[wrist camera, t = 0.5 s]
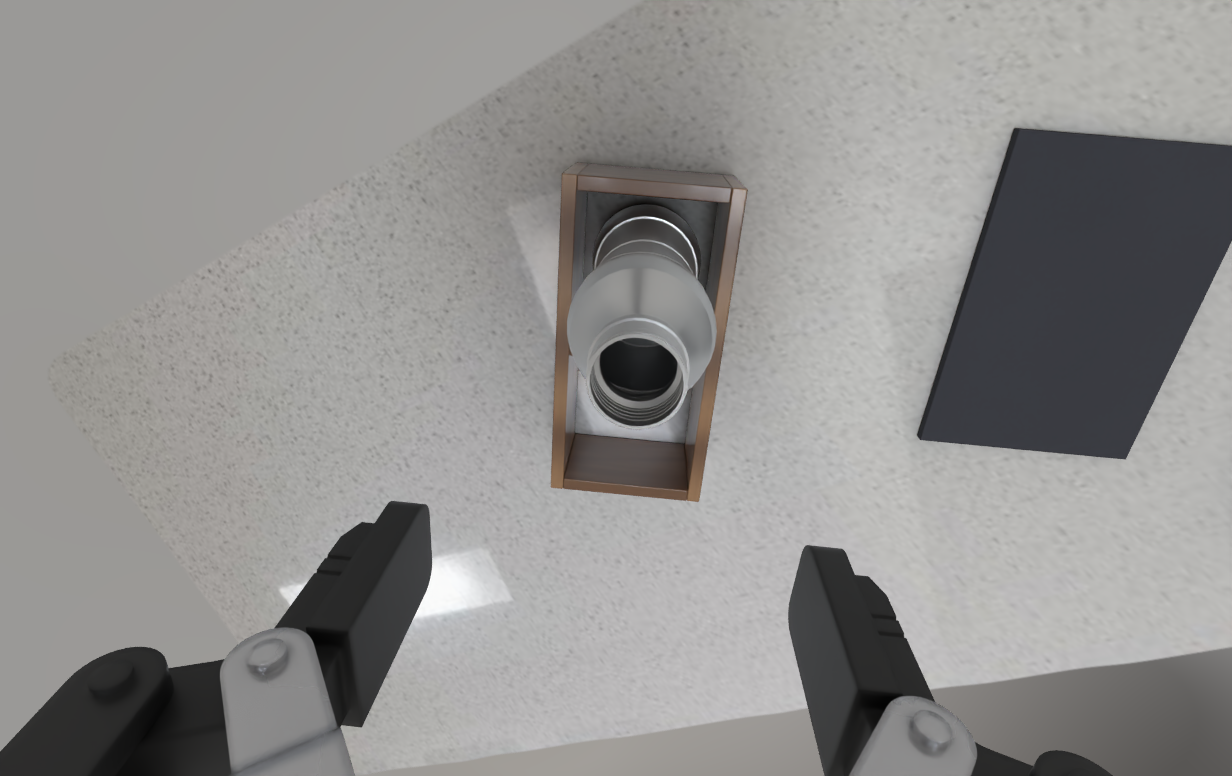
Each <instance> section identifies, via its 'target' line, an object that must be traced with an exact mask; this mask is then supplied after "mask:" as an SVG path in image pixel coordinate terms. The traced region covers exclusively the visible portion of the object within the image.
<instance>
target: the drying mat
mask: <svg viewBox="0 0 1232 776" xmlns="http://www.w3.org/2000/svg"><path fill="white" fill-rule="evenodd" d="M1231 241H1232V146H1227V145H1214V144H1202V143H1190V142H1178V141H1165V140H1153V139H1141V138H1129V137H1116V136H1104V135H1092V134H1080V133H1067V132H1055V131H1043V130H1030V129H1018V128H1015V129H1014V132H1013V135H1012V139H1011V142H1010V145H1009V148H1008V151H1007V154H1006V157H1005V161H1004V164H1003V167H1002V170H1001V173H1000V176H999V180H998V183H997V186H996V189H995V192H994V195H993V199H992V202H991V205H990V208H989V211H988V214H987V218H986V221H985V224H984V227H983V230H982V233H981V236H980V240H979V243H978V246H977V249H976V252H975V255H974V259H973V262H972V265H971V268H970V271H969V274H968V278H967V281H966V284H965V287H964V290H963V293H962V297H961V300H960V303H959V306H958V309H957V312H956V315H955V319H954V322H953V325H952V328H951V331H950V334H949V338H948V341H947V344H946V347H945V350H944V353H943V357H942V360H941V363H940V366H939V369H938V372H937V375H936V379H935V382H934V385H933V388H932V391H931V394H930V398H929V401H928V404H927V407H926V410H925V413H924V417H923V420H922V423H921V426H920V429H919V432H918V437H919V439H920V440H926V441H937V442H948V443H958V444H969V445H979V446H990V447H1000V448H1011V449H1021V450H1032V451H1043V452H1053V453H1064V454H1074V455H1085V456H1095V457H1106V458H1116V459H1126V458H1127V456H1128V453H1129V451H1130V449H1131V447H1132V445H1133V443H1134V441H1135V439H1136V437H1137V435H1138V433H1139V431H1140V429H1141V427H1142V425H1143V423H1144V421H1145V418H1146V416H1147V414H1148V412H1149V410H1150V408H1151V406H1152V404H1153V402H1154V400H1155V398H1156V396H1157V394H1158V392H1159V390H1160V388H1161V386H1162V383H1163V381H1164V379H1165V377H1166V375H1167V373H1168V371H1169V369H1170V367H1171V365H1172V363H1173V361H1174V359H1175V357H1176V355H1177V353H1178V351H1179V348H1180V346H1181V344H1182V342H1183V340H1184V338H1185V336H1186V334H1187V332H1188V330H1189V328H1190V326H1191V324H1192V322H1193V320H1194V318H1195V316H1196V313H1197V311H1198V309H1199V307H1200V305H1201V303H1202V301H1203V299H1204V297H1205V295H1206V293H1207V291H1208V289H1209V287H1210V285H1211V283H1212V281H1213V278H1214V276H1215V274H1216V272H1217V270H1218V268H1219V266H1220V264H1221V262H1222V260H1223V258H1224V256H1225V254H1226V252H1227V250H1228V248H1229V245H1230V243H1231Z"/></svg>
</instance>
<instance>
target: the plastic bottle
mask: <svg viewBox="0 0 1232 776" xmlns="http://www.w3.org/2000/svg"><path fill="white" fill-rule="evenodd" d="M700 266H701V255H700V248H699V245H698V241H697V238H696V237H695V235H694V233H693V231H692V229H691V228H690V227H689V225H688V224H687V223H686V222H685V220H683V219H682V218H681V217H680V216H679V215H677V214H676V213H674V212H672V211H671V210H669V209H667V208H664V207H660V206H657V205H648V204H642V205H635V206H631V207H628V208H626V209H623V210H621V211H620V212H618V213H617V214H615V215H613V216H612V217H611V218H610V219H609V220H608V221H607V222H606V223H605V225H604V226H603V227H602V229H601V230H600V232H599V234H598V236H597V239H596V241H595V245H594V249H593V271H592V272H591V273H590V274H589V275H588V276H587V277H586V279H585V280H584V282H583V283H582V284H581V286H580V287H579V289H578V290H577V292H576V293H575V296H574V298H573V300H572V303H571V305H570V309H569V314H568V318H567V337H568V342H569V347H570V350H571V353H572V355H573V357H574V360H575V362H576V365H577V367H578V369H579V370H580V372H581V373H582V375H583V376H584V378H585V379H586V386H587V391H588V395H589V397H590V400H591V402H592V403H593V405H594V407H595V408H596V410H597V411H598V412H599V413H600V414H601V415H602V416H603V417H604V418H606V419H607V420H609V421H610V422H612V423H614V424H616V425H618V426H620V427H624V428H628V429H636V430H641V429H649V428H653V427H656V426H659V425H661V424H663V423H665V422H666V421H668V420H669V419H670V418H672V417H673V416H674V415H675V414H676V412H677V411H678V410H679V409H680V407H681V405H682V404H683V402H684V399H685V396H686V393H687V391H688V390H689V389H691V388H692V387H693V386H694V384H695V383H696V382H697V381H698V380H699V378H700V377H701V376H702V374H703V373H704V371H705V369H706V367H707V366H708V364H709V362H710V360H711V358H712V354H713V351H714V348H715V343H716V334H717V329H716V318H715V314H714V311H713V308H712V304H711V302H710V300H709V298H708V296H707V294H706V292H705V290H704V288H703V286H702V285H701V283H700V282H699V281H698V277H699V274H700Z"/></svg>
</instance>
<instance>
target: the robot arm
mask: <svg viewBox="0 0 1232 776" xmlns="http://www.w3.org/2000/svg"><path fill="white" fill-rule="evenodd" d="M431 570H432V550H431V533H430V515H429V508H428V506H427V505H426V504H417V503H407V502H397V501H391V502H389V503H388V504H387V506H386V507H385V509H384V510H383V512H382V513H381V515H380V516H379V518H378V519H377V521H376V522H375V523H365V522H361V523H360V524H359V525H357V526H356V527H354V528H353V529H351V530H350V531H348V532H347V533H346V534H344V535H343V536H341V537H340V539H339V540H338V541H337V543H336V544H335V545H334V547H333V548H332V550H331V551H330V552H329V554H328V557H327V558H325V559H324V561H323V562H322V563H321V565H320V566H319V568H318V569H317V573H314V574H313V576H312V577H311V579H310V580H309V581H308V583H307V584H306V585H305V587H304V588H303V590H302V591H301V592H300V594H299V595H298V596H297V598H296V599H295V601H294V602H293V603H292V605H291V606H290V607H289V609H288V610H287V612H286V613H285V614H284V616H283V617H282V618H281V620H280V621H279V623H278V624H277V625H276V627H275V628H274V629H269V630H266V631H262V632H260V633H257V634H255V635H253V636H251V637H249V638H247V639H245V640H244V641H242V642H241V643H240V644H238V645H237V646H236V647H235V648H234V649H233V650H232V651H231V652H230V653H229V654H228V655H227V657H226V658H225V659H223V660H218V661H214V662H207V663H200V664H194V665H187V666H181V667H174V668H168V665H167V662H166V660H165V657H164V656H163V654H162V653H160V652H159V651H157V650H155V649H152V648H147V647H131V648H125V649H121V650H117V651H114V652H111V653H108V654H106V655H103V656H101V657H99V658H97V659H95V660H93V661H91V662H90V663H88V664H87V665H85V666H84V667H82V668H81V669H80V670H78V671H77V672H76V673H74V674H73V675H72V676H71V677H70V678H69V679H68V680H67V681H66V682H65V683H64V684H63V685H62V686H61V687H60V689H59V690H58V691H57V692H56V693H55V694H54V695H53V696H52V697H51V698H50V699H49V700H48V701H47V702H46V703H45V705H44V706H43V707H42V708H41V709H40V710H39V711H38V712H37V713H36V714H35V715H34V716H33V717H32V718H31V719H30V721H29V722H28V723H27V724H26V725H25V726H24V727H23V728H22V729H21V730H20V731H19V732H18V733H17V734H16V735H15V737H14V738H13V739H12V740H11V741H10V742H9V743H8V744H7V745H6V746H5V747H4V748H3V749H2V750H1V751H0V776H355V774H354V770H353V767H352V763H351V760H350V756H349V753H348V750H347V746H346V743H345V739H344V736H343V733H342V730H341V728H340V727H341V725H346V726H354V727H362V726H363V724H364V721H365V719H366V717H367V715H368V713H369V711H370V709H371V707H372V705H373V702H374V700H375V698H376V696H377V694H378V692H379V690H380V688H381V686H382V683H383V681H384V679H385V677H386V675H387V673H388V671H389V669H390V667H391V664H392V662H393V660H394V658H395V656H396V654H397V652H398V650H399V648H400V645H401V643H402V641H403V639H404V637H405V635H406V633H407V631H408V629H409V626H410V624H411V622H412V620H413V618H414V616H415V614H416V612H417V610H418V607H419V605H420V603H421V601H422V599H423V597H424V595H425V593H426V590H427V588H428V584H429V581H430V576H431ZM788 621H789V630H790V635H791V639H792V643H793V647H794V651H795V656H796V660H797V664H798V668H799V672H800V676H801V680H802V684H803V689H804V693H805V697H806V701H807V705H808V709H809V713H810V717H811V722H812V726H813V730H814V734H815V738H816V742H817V746H818V751H819V755H820V759H821V763H822V767H823V771H824V775H825V776H1112V775H1111V774H1110V773H1109V772H1107V771H1106V770H1104V769H1103V768H1102V767H1100V766H1099V765H1097V764H1095V763H1093V762H1092V761H1090V760H1088V759H1086V758H1084V757H1082V756H1079V755H1076V754H1073V753H1070V752H1065V751H1057V750H1056V751H1048V752H1045V753H1043V754H1042V755H1040V756H1039V758H1038V759H1037V761H1036V763H1035V764H1034V766H1031V765H1028V764H1026V763H1023V762H1021V761H1018V760H1015V759H1013V758H1010V757H1008V756H1005V755H1003V754H1000V753H998V752H995V751H992V750H990V749H987V748H985V747H983V746H981V745H979V744H977V743H976V742H975V741H974V739H973V737H972V735H971V733H970V732H969V730H968V729H967V727H966V726H965V725H964V724H963V723H962V722H961V721H960V720H959V719H958V718H957V717H956V716H955V715H954V714H953V713H952V712H950V711H949V710H947V709H946V708H944V707H943V706H941V705H939V704H937V703H936V702H935V701H934V699H933V696H932V694H931V692H930V690H929V688H928V685H927V683H926V681H925V679H924V677H923V674H922V672H921V670H920V668H919V665H918V663H917V661H916V659H915V657H914V654H913V652H912V650H911V648H910V646H909V643H908V641H907V639H906V638H904V632H903V630H902V628H901V626H900V624H899V621H896V615H895V613H894V610H893V608H892V606H891V604H890V602H889V599H888V597H887V595H886V594H885V593H884V592H883V591H882V590H881V589H880V588H879V587H878V586H877V585H876V584H875V583H874V582H873V581H872V580H871V579H870V578H869V577H868V576H858V575H855V574H854V572H853V569H852V567H851V564H850V562H849V560H848V557H847V555H846V553H845V551H844V550H843V549H838V548H829V547H819V546H810V545H807V546H805V547H804V549H803V551H802V555H801V559H800V563H799V567H798V570H797V574H796V578H795V582H794V586H793V590H792V594H791V598H790V602H789V612H788Z"/></svg>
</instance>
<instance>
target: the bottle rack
mask: <svg viewBox="0 0 1232 776" xmlns="http://www.w3.org/2000/svg"><path fill="white" fill-rule="evenodd" d="M587 191H590V192H602V193H614V194H625V195H637V196H649V197H660V198H672V199H684V200H695V201H707V202H718V208H717V215H716V223H715V230H714V237H713V244H712V252H711V259H710V266H709V273H708V280H707V288H706V294H707V296H708V298H709V300H710V302H711V304H712V308H713V311H714V314H715V318H716V329H717V334H716V343H715V348H714V351H713V354H712V358H711V360H710V362H709V364H708V366H707V367H706V369H705V371H704V373H703V374H702V376H701V377H700V378H699V380H698V381H697V382H696V383H695V384H694V386H693V389H692V396H691V403H690V411H689V418H688V425H687V432H686V439H685V445H684V444H677V443H666V442H656V441H645V440H635V439H625V438H614V437H604V436H593V435H583V434H575V419H576V400H577V381H578V367H577V365H576V362H575V360H574V357H573V355H572V353H571V350H570V347H569V342H568V337H567V318H568V314H569V309H570V305H571V303H572V300H573V298H574V296H575V293H576V292H577V290H578V289H579V287H580V286H581V284H582V283H583V267H584V248H585V229H586V210H587ZM747 191H748V190H747V188H746V187H745V186H744V185H743V184H742V183H741V182H740V181H739V180H738V179H737V178H736V177H735V176H731V175H719V174H708V173H696V172H684V171H672V170H660V169H648V168H636V167H625V166H613V165H601V164H588V163H578V162H577V163H575V164H574V165H572V166H571V167H570V168H569V169H567V170H566V171H565V172H563V173H562V184H561V213H560V241H559V269H558V297H557V325H556V353H555V381H554V409H553V438H552V466H551V488H561V489H562V488H564V489H572V490H582V491H593V492H603V493H613V494H623V495H633V496H643V497H654V498H664V499H674V500H684V501H686V500H687V501H695V502H699V498H700V492H701V486H702V479H703V473H704V466H705V460H706V454H707V447H708V441H709V434H710V428H711V422H712V415H713V409H714V402H715V396H716V390H717V383H718V377H719V370H720V364H721V358H722V351H723V345H724V338H725V332H726V326H727V319H728V313H729V306H730V300H731V294H732V287H733V281H734V274H735V268H736V262H737V255H738V249H739V242H740V236H741V230H742V223H743V217H744V210H745V204H746V198H747Z"/></svg>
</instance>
